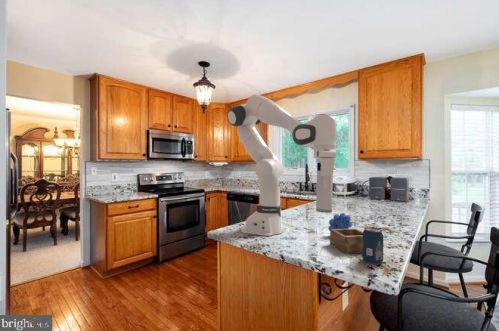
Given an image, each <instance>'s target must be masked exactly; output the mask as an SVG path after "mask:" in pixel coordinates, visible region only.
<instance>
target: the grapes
mask: <svg viewBox="0 0 499 331" xmlns="http://www.w3.org/2000/svg"><path fill="white" fill-rule="evenodd" d="M351 220H352V217H351V216H350V215H347V214H346V213H344V212H341V213H340V214H338V213H336V214H334V215H333V218H331V219H330V220H329V221H328V224H329V226H328V228H327V229H328V231H329V232H330V229H350V228H351V227H352V226H353V222H352V221H351Z"/></svg>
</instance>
